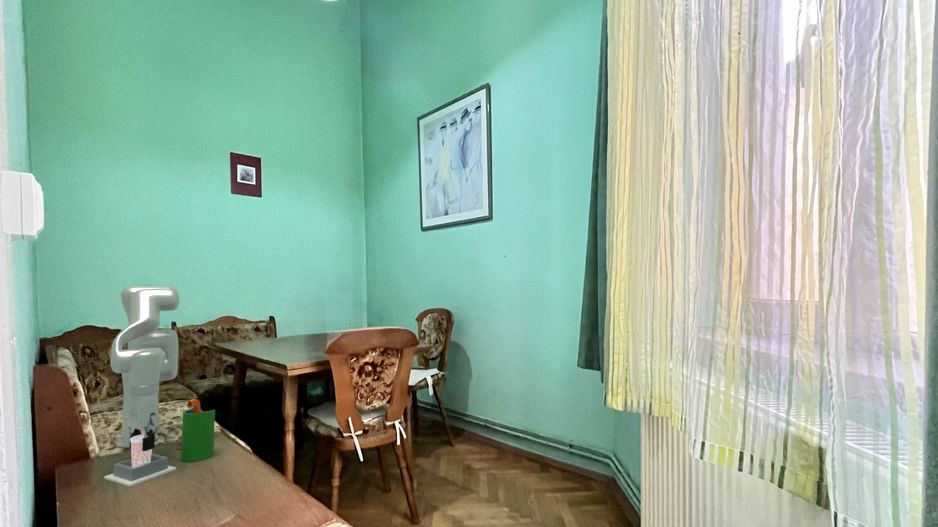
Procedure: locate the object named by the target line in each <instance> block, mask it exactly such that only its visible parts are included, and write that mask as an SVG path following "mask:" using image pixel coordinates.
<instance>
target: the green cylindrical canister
mask: <svg viewBox="0 0 938 527" xmlns="http://www.w3.org/2000/svg"><path fill="white" fill-rule="evenodd" d="M186 406H187V408H189V409H186V410H184V411H183V412H182V423H181V425H182V426H181V435H182V442H181V449H180V461H181V462H183V463H184V462H186V463H188V462H189V463H191V462H198V461H204V460H207V459H209V458H212V457H214V445H215V425H216V424H215V423H216V422H215V421H216V409H211V410H209V411H206V410H205V411H204V410H203V411H202V410H201V402H200V400H199V399H198V398H197V399H196V398H195V399H193V398H192V399H190V400H187V405H186Z"/></svg>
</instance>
